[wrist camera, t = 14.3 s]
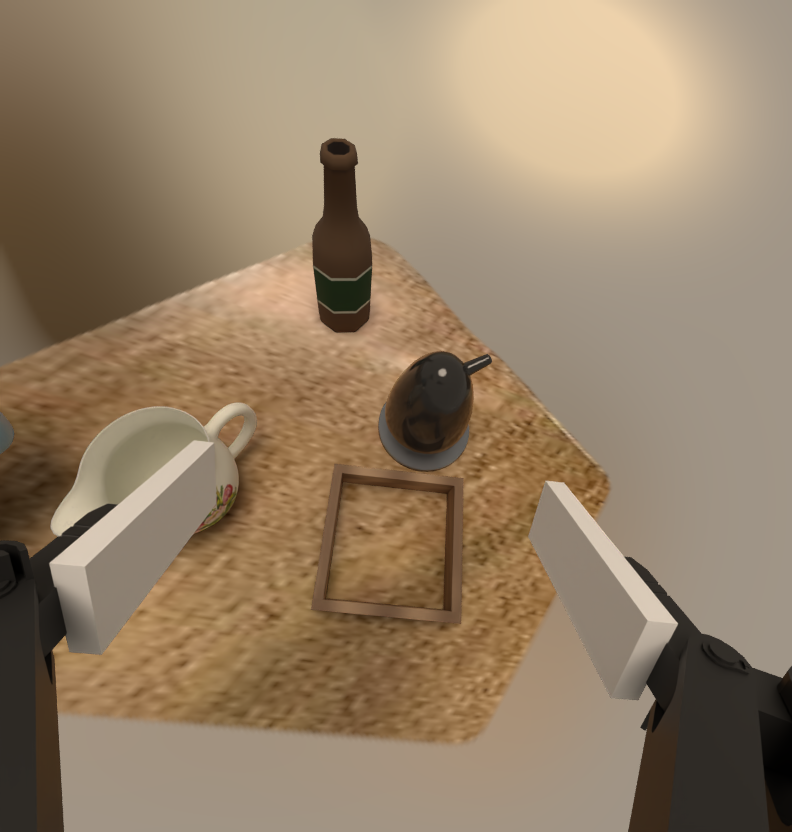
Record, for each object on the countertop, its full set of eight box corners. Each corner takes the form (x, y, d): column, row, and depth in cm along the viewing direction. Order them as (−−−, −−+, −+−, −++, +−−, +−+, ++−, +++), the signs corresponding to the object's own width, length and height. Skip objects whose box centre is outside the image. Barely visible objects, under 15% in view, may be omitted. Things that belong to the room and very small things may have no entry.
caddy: (315, 607, 41) (311, 609, 38) (336, 473, 48) (334, 463, 44) (451, 620, 42) (461, 623, 39) (455, 486, 48) (463, 478, 45)
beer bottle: (356, 287, 60) (357, 115, 38) (379, 324, 58) (394, 163, 36) (309, 302, 58) (282, 130, 36) (331, 342, 55) (316, 182, 34)
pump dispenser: (473, 448, 50) (519, 395, 36) (399, 474, 48) (417, 427, 34) (442, 382, 54) (473, 311, 40) (372, 403, 51) (378, 334, 37)
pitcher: (297, 462, 48) (277, 417, 35) (175, 584, 41) (97, 582, 29) (236, 408, 50) (197, 348, 37) (110, 516, 43) (11, 487, 31)
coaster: (373, 465, 49) (373, 463, 48) (383, 383, 54) (383, 380, 53) (467, 476, 49) (468, 474, 48) (468, 393, 54) (469, 390, 53)
